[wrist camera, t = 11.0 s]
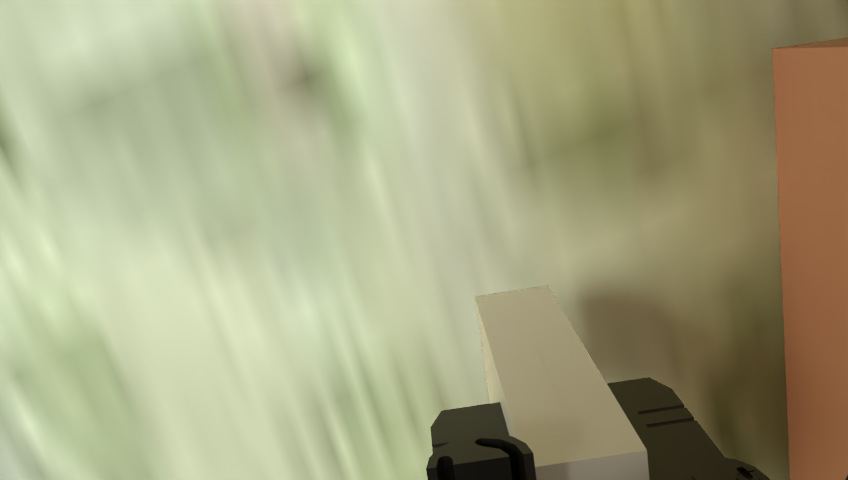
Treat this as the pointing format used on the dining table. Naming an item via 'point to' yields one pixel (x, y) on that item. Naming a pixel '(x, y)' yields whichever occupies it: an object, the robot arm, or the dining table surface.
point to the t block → (814, 251)
